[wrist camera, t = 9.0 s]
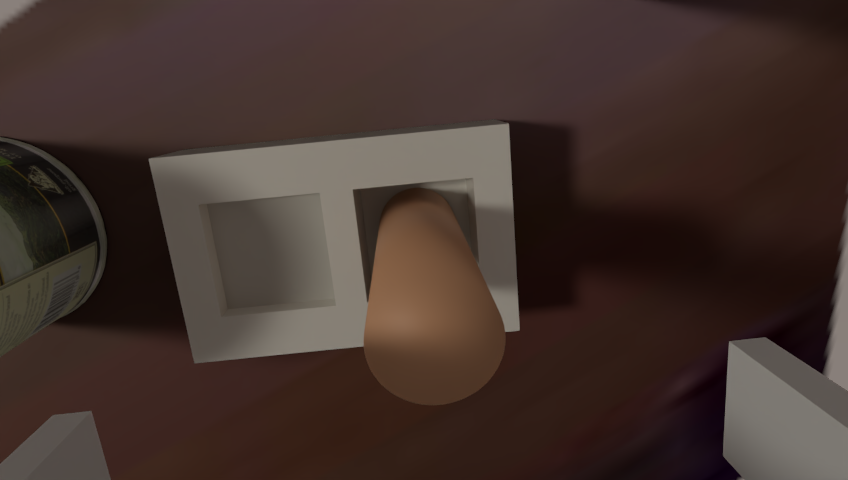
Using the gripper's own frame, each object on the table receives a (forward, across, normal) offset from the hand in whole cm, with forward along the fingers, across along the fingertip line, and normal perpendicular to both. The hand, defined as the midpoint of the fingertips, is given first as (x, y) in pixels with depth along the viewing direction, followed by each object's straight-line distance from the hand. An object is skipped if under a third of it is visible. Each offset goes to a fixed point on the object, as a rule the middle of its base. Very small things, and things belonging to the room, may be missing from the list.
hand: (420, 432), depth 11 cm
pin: (+18, +1, 0) cm, 18 cm away
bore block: (+19, -3, 0) cm, 19 cm away
